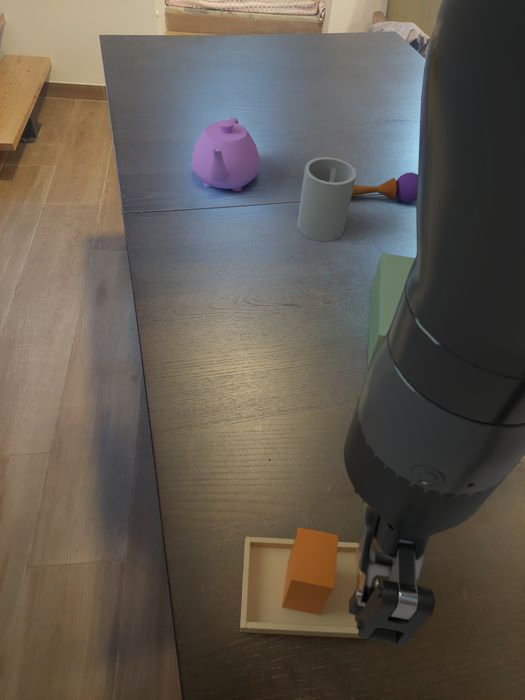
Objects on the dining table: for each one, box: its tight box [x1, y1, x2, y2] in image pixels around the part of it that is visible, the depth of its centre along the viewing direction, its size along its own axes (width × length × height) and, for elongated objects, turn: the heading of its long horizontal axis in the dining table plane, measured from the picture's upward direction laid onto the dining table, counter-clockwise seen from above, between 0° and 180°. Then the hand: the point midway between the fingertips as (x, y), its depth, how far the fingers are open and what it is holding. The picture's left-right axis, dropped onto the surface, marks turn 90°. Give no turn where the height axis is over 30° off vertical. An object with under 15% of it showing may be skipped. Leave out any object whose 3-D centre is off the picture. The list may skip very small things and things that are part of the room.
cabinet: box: [366, 252, 415, 370], centre depth 79 cm, size 19×15×8 cm
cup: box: [296, 156, 357, 242], centre depth 95 cm, size 9×9×12 cm
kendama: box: [351, 172, 418, 204], centre depth 105 cm, size 6×6×20 cm
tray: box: [239, 536, 367, 640], centre depth 55 cm, size 13×9×2 cm
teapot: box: [191, 117, 261, 192], centre depth 103 cm, size 20×14×12 cm
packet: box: [282, 527, 339, 615], centre depth 52 cm, size 5×4×10 cm
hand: (366, 546), depth 36 cm, fingers open, 8 cm apart
